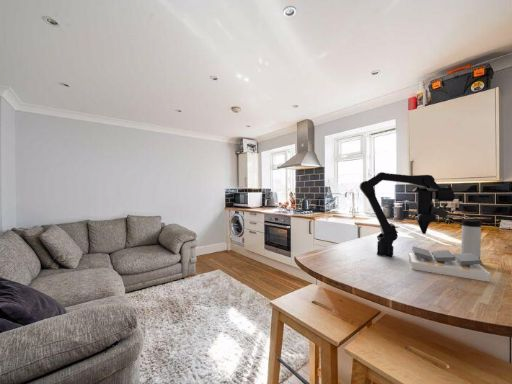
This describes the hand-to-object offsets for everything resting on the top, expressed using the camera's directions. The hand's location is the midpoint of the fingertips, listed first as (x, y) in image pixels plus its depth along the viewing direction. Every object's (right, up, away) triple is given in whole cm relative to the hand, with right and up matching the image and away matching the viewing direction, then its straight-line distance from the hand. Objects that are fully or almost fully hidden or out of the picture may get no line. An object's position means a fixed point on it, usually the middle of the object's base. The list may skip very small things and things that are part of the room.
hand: (423, 233), depth 102 cm
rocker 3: (+6, -8, -15) cm, 18 cm away
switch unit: (-1, -12, -12) cm, 18 cm away
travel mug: (+18, -12, -4) cm, 23 cm away
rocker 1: (-7, -8, -7) cm, 13 cm away
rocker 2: (-1, -8, -11) cm, 14 cm away
